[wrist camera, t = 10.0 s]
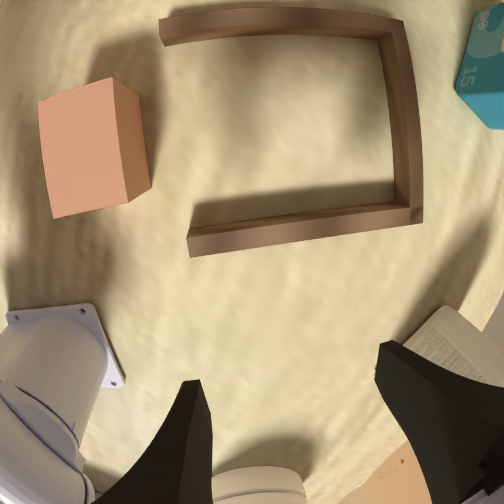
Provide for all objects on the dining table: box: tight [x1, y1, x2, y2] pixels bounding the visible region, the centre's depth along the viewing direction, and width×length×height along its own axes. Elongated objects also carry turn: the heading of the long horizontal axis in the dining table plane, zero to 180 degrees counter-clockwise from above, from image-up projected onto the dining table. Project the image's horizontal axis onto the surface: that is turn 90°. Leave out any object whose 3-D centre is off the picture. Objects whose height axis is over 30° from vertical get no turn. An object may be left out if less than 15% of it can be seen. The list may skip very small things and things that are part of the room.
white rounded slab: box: [374, 305, 504, 387], centre depth 19 cm, size 10×4×12 cm, turn 137°
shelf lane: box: [158, 7, 423, 258], centre depth 17 cm, size 16×14×2 cm
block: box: [38, 77, 151, 219], centre depth 14 cm, size 4×6×6 cm
